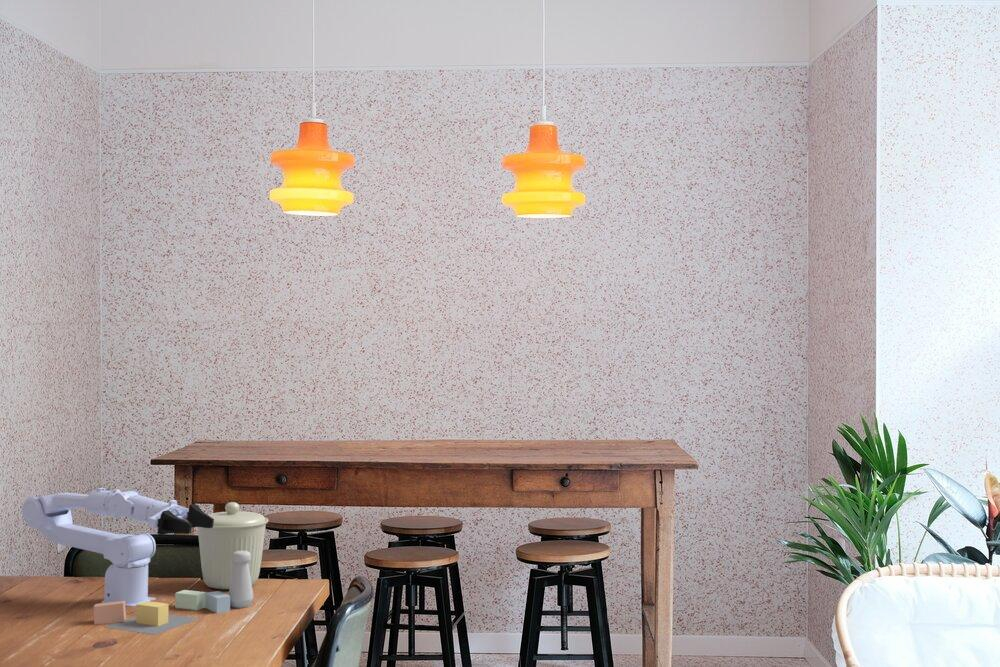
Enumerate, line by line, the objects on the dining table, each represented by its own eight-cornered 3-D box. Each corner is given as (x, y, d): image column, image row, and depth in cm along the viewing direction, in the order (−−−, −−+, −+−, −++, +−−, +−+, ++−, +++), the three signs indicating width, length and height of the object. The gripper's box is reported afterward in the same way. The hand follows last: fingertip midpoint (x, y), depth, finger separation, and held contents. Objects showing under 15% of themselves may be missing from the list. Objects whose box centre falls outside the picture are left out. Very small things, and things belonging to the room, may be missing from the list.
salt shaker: (246, 611, 227) (247, 554, 228) (223, 610, 228) (224, 553, 229) (257, 605, 233) (258, 549, 233) (234, 603, 234) (235, 548, 234)
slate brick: (205, 610, 228) (205, 593, 228) (218, 608, 230) (218, 591, 231) (216, 615, 224) (217, 598, 224) (230, 613, 226) (230, 595, 226)
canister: (229, 597, 240) (230, 510, 241) (178, 587, 250) (179, 503, 250) (282, 583, 255) (283, 501, 256) (232, 574, 265) (234, 495, 265)
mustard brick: (136, 622, 215) (136, 604, 215) (146, 619, 218) (147, 600, 218) (157, 626, 213) (158, 607, 213) (168, 622, 216) (168, 603, 216)
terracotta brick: (94, 625, 214) (93, 606, 214) (96, 622, 217) (95, 603, 217) (124, 621, 215) (123, 603, 216) (126, 618, 218) (124, 600, 219)
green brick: (175, 610, 228) (175, 592, 228) (184, 607, 231) (184, 589, 231) (196, 613, 226) (196, 595, 226) (205, 609, 229) (205, 592, 229)
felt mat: (103, 629, 212) (103, 626, 212) (149, 613, 225) (149, 611, 225) (154, 637, 206) (154, 634, 206) (199, 620, 219) (199, 618, 219)
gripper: (135, 500, 225) (182, 513, 220) (178, 491, 239) (224, 504, 234) (130, 530, 226) (178, 545, 221) (174, 520, 239) (220, 533, 234)
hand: (201, 526), depth 227 cm, fingers open, 7 cm apart
